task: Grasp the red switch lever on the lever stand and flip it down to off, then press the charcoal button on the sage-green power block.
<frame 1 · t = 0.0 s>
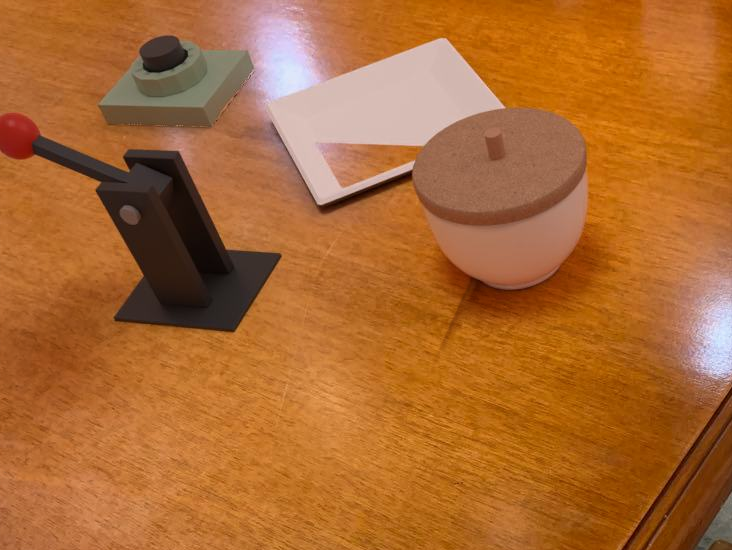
power button: (163, 54, 100), point 4 cm above the table, slide at 0.1 cm
power block: (182, 97, 103), on the table
lidded bowl: (518, 261, 81), on the table
kettle switch: (81, 163, 75), point 12 cm above the table, hinge at 25.0°
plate: (392, 135, 94), on the table
lever stand: (203, 296, 84), on the table
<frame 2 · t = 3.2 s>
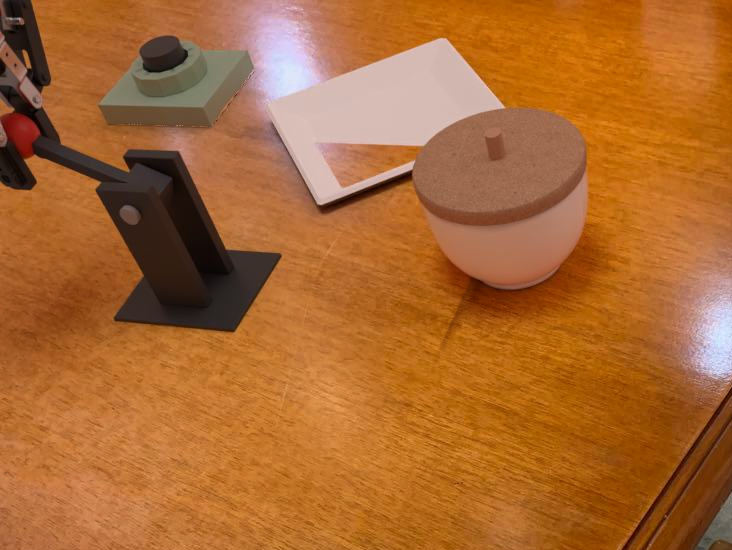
hand: (37, 170, 77), 11 cm above the table, tool pointing down, fingers closed on kettle switch, 3 cm apart
kettle switch: (81, 163, 75), point 12 cm above the table, hinge at 25.0°, touching gripper
everything else where it was.
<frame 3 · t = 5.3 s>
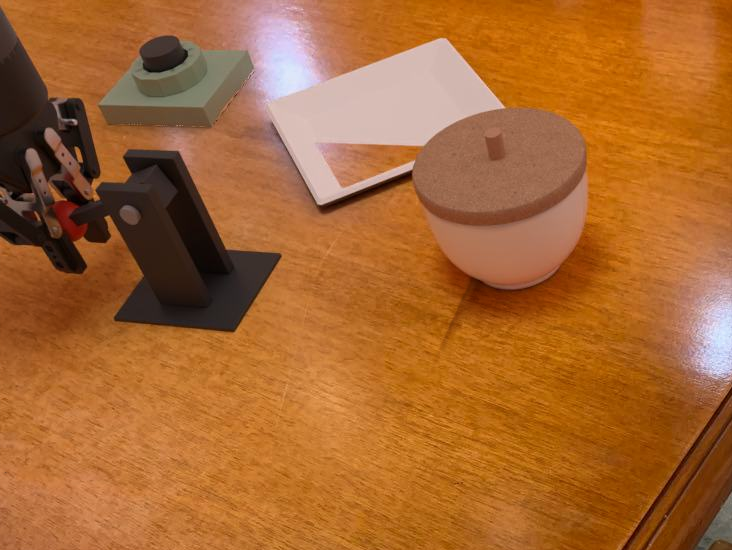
hand: (87, 254, 83), 4 cm above the table, tool pointing down, fingers closed on kettle switch, 3 cm apart
kettle switch: (104, 207, 78), point 8 cm above the table, hinge at -19.0°, touching gripper
everything else where it was.
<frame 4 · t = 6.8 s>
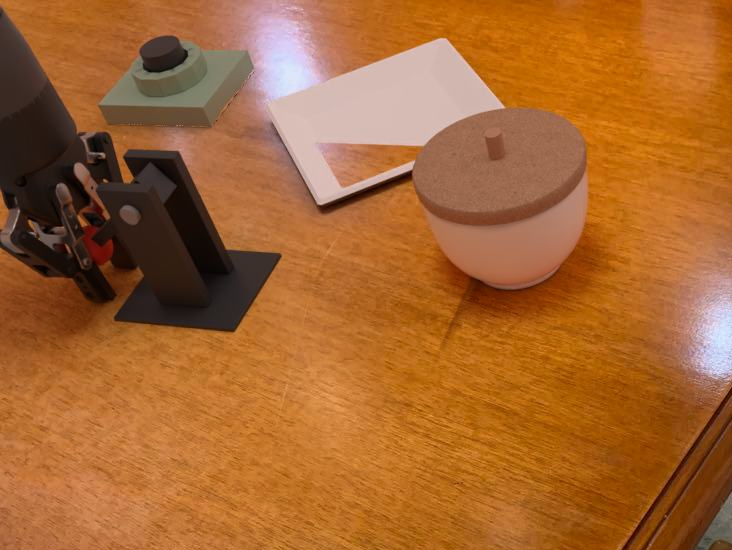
hand: (116, 283, 85), 1 cm above the table, tool pointing down, fingers open, 3 cm apart
kettle switch: (118, 220, 79), point 7 cm above the table, hinge at -33.6°
everything else where it was.
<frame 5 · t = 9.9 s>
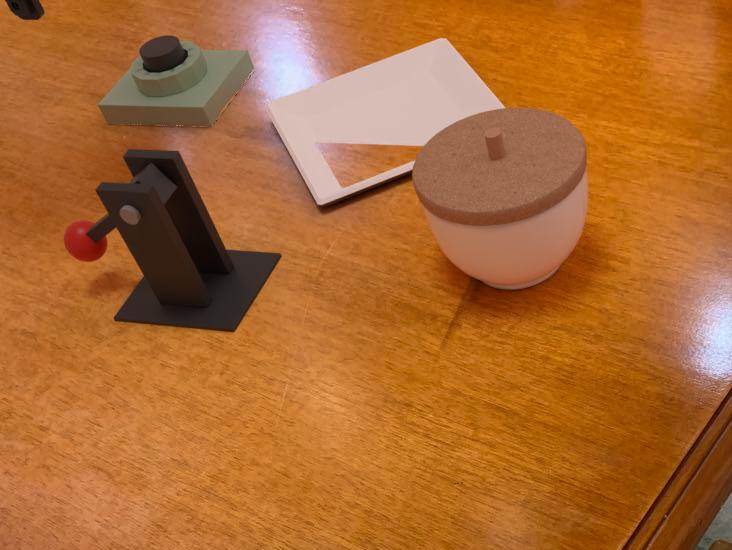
kettle switch: (115, 217, 79), point 7 cm above the table, hinge at -30.5°
everything else where it was.
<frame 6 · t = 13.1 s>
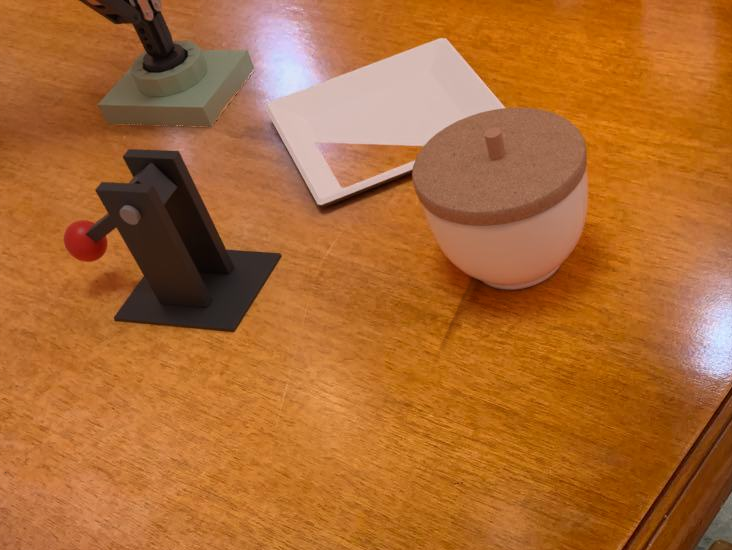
hand: (163, 53, 100), 5 cm above the table, tool pointing down, fingers closed
power button: (166, 62, 101), point 4 cm above the table, slide at -0.7 cm, touching gripper
everything else where it was.
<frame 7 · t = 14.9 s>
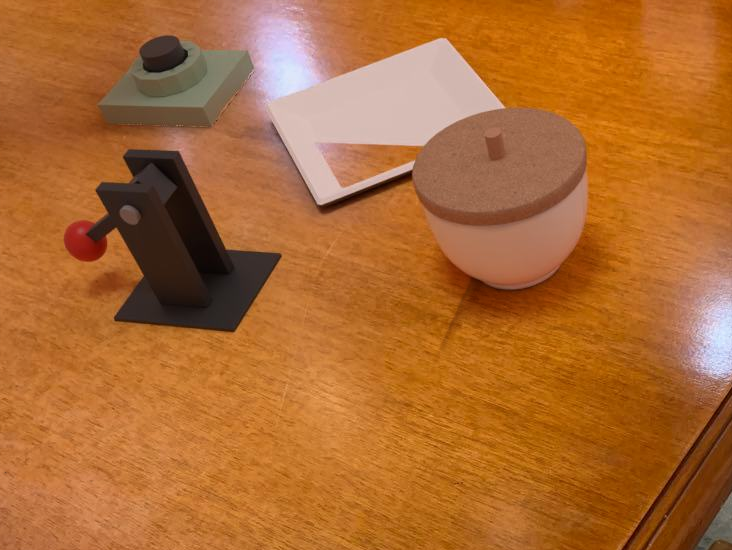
power button: (163, 54, 100), point 4 cm above the table, slide at 0.1 cm
everything else where it was.
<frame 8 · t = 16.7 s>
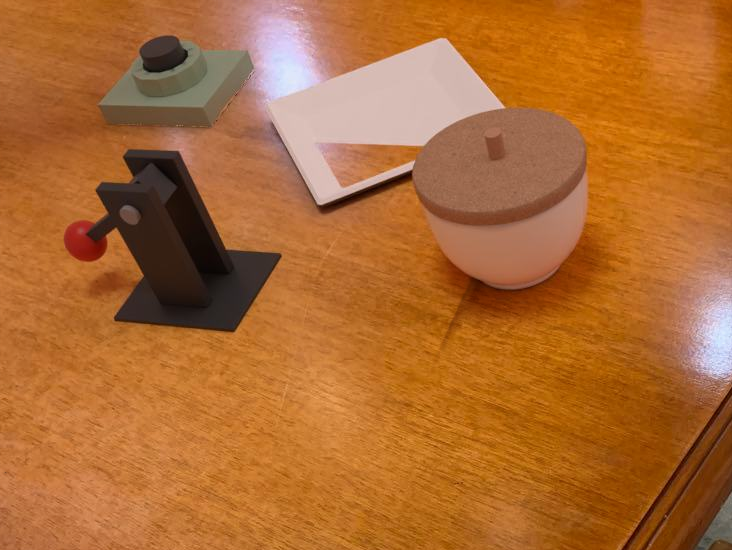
nothing on the table moved.
at the end: kettle switch at -30° (first picture: +25°); power button pushed in 1.0 cm at the most during the clip, back to where it started at the end; power button slide at 0.1 cm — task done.
